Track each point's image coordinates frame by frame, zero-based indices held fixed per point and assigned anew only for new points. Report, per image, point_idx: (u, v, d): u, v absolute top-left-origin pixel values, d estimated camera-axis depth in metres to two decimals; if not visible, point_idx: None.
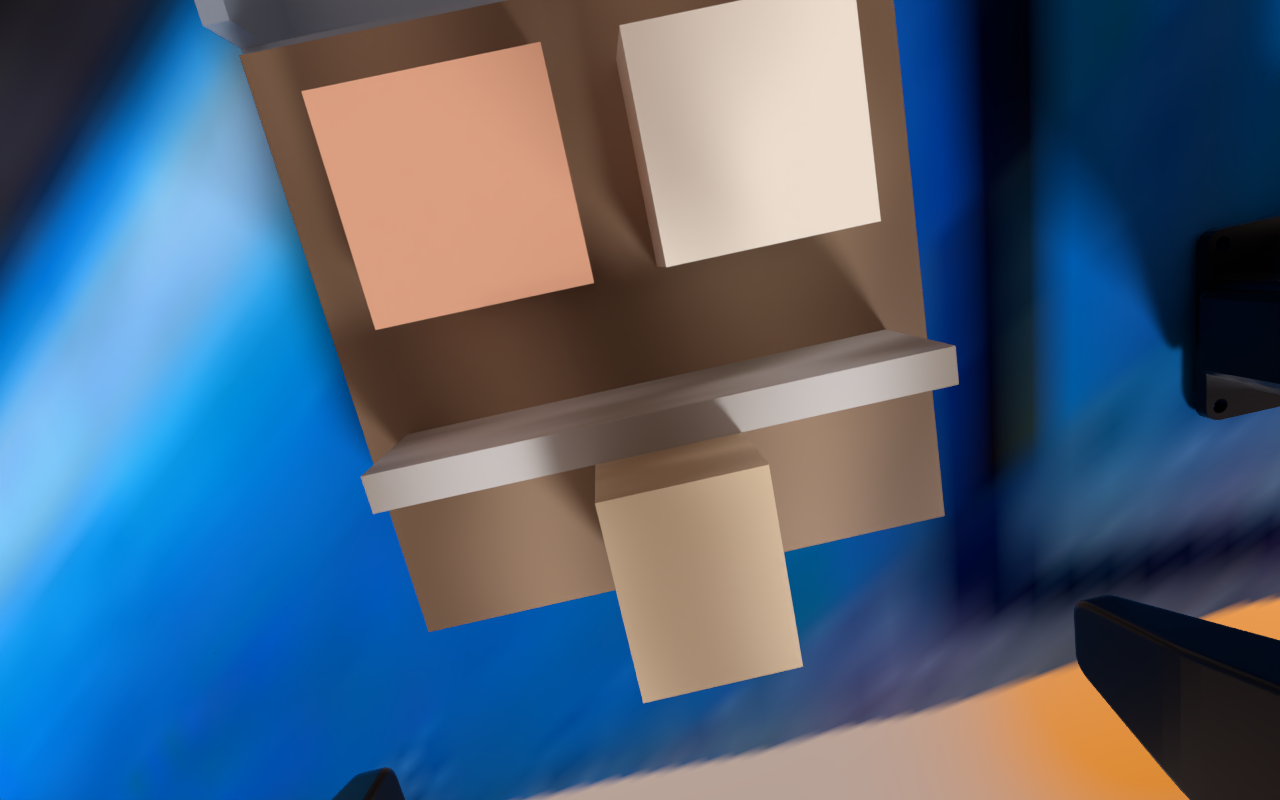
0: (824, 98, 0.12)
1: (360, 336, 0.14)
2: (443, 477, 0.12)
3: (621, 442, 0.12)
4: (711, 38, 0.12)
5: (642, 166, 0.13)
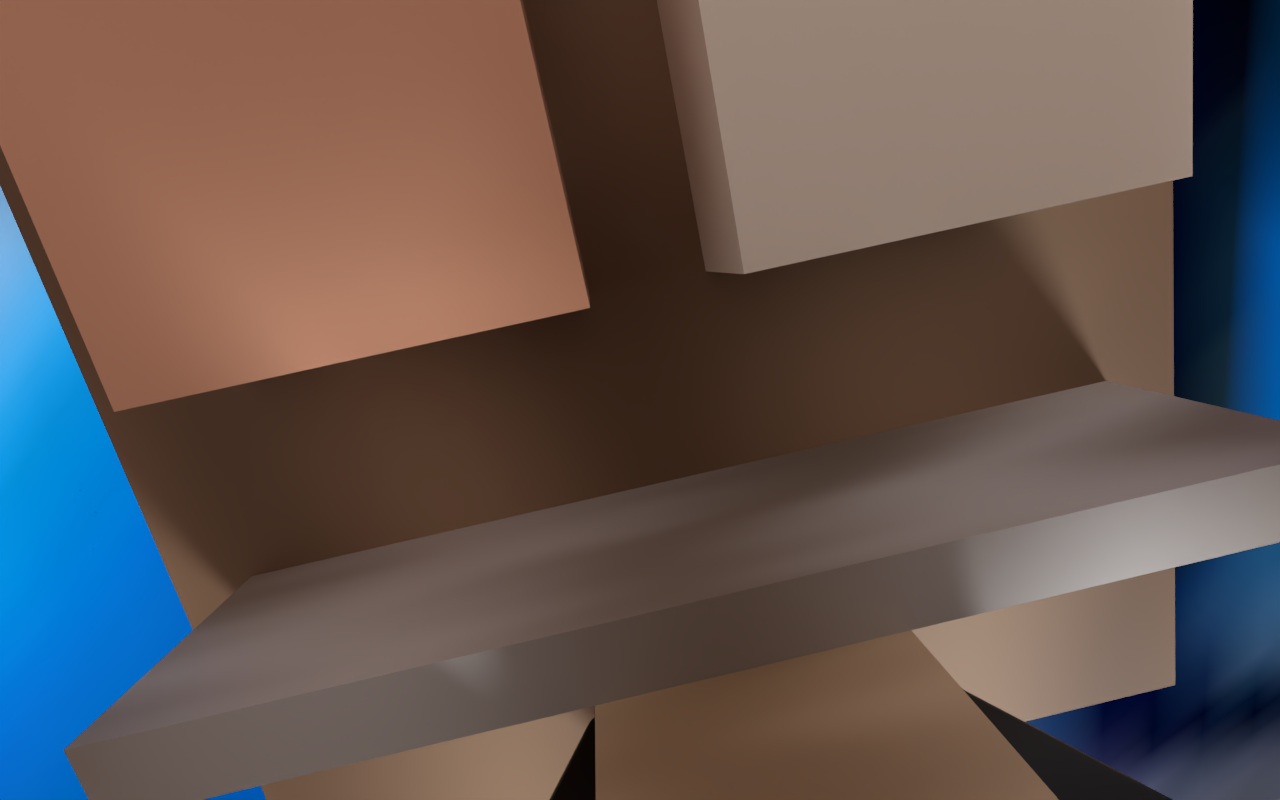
0: None
1: None
2: (256, 744, 0.05)
3: (652, 659, 0.06)
4: None
5: (689, 64, 0.06)
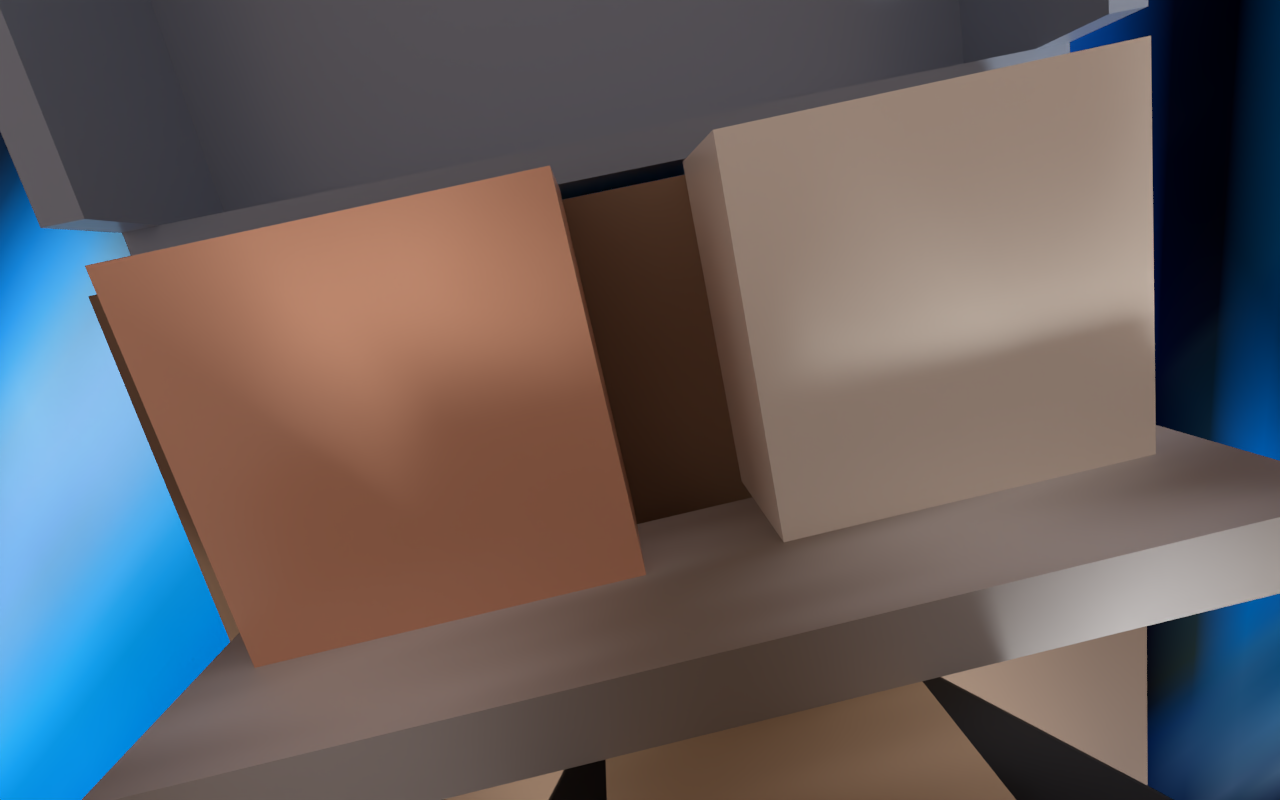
0: (1078, 253, 0.07)
1: None
2: None
3: (663, 713, 0.05)
4: (883, 151, 0.06)
5: (736, 356, 0.07)
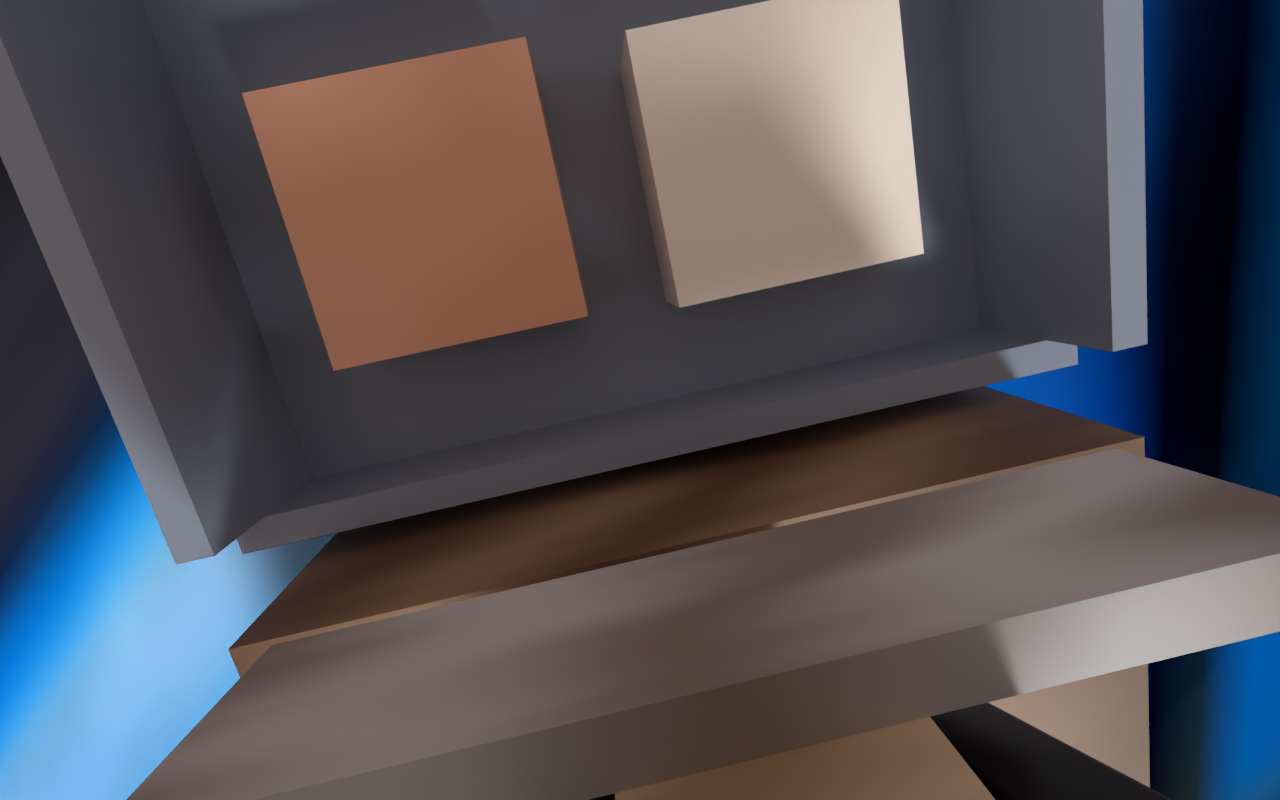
0: None
1: None
2: None
3: (672, 746, 0.06)
4: None
5: (645, 175, 0.11)
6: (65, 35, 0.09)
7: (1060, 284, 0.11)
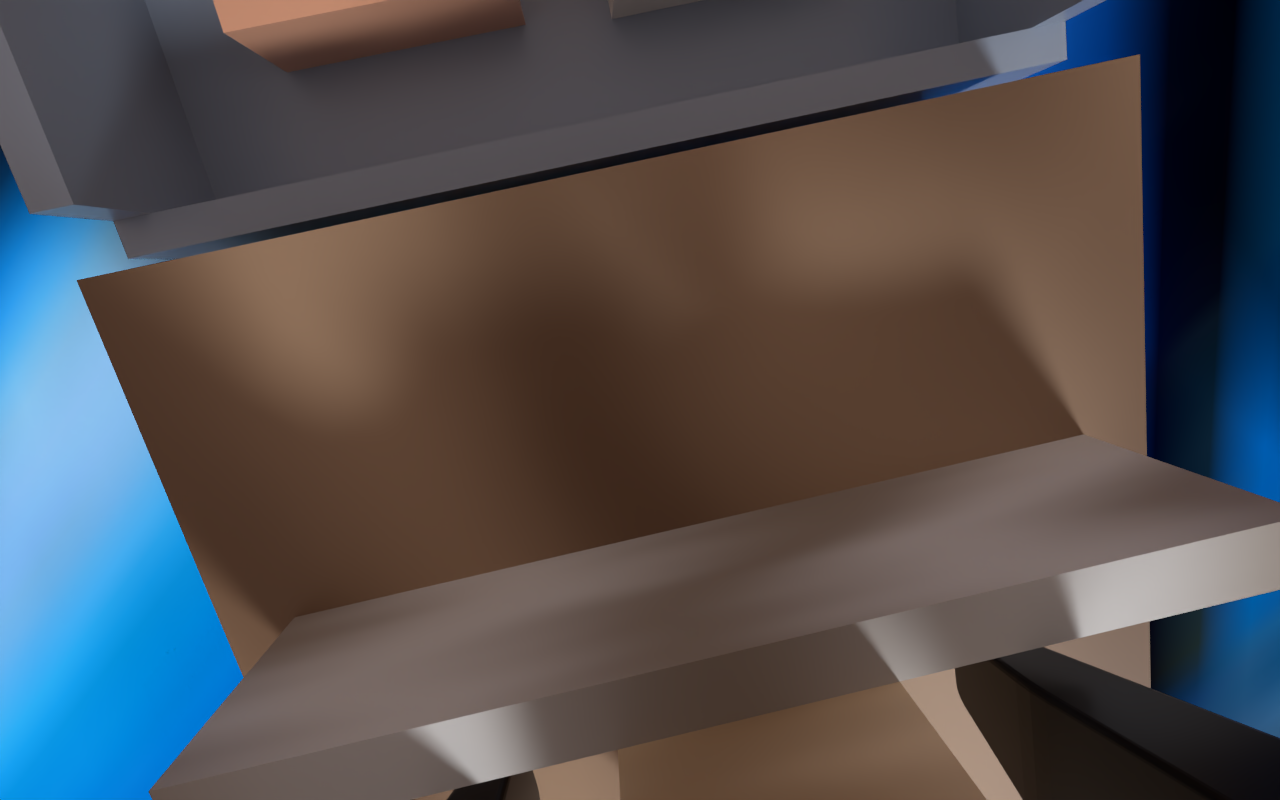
0: None
1: None
2: (317, 784, 0.06)
3: (669, 708, 0.06)
4: None
5: None
6: None
7: None
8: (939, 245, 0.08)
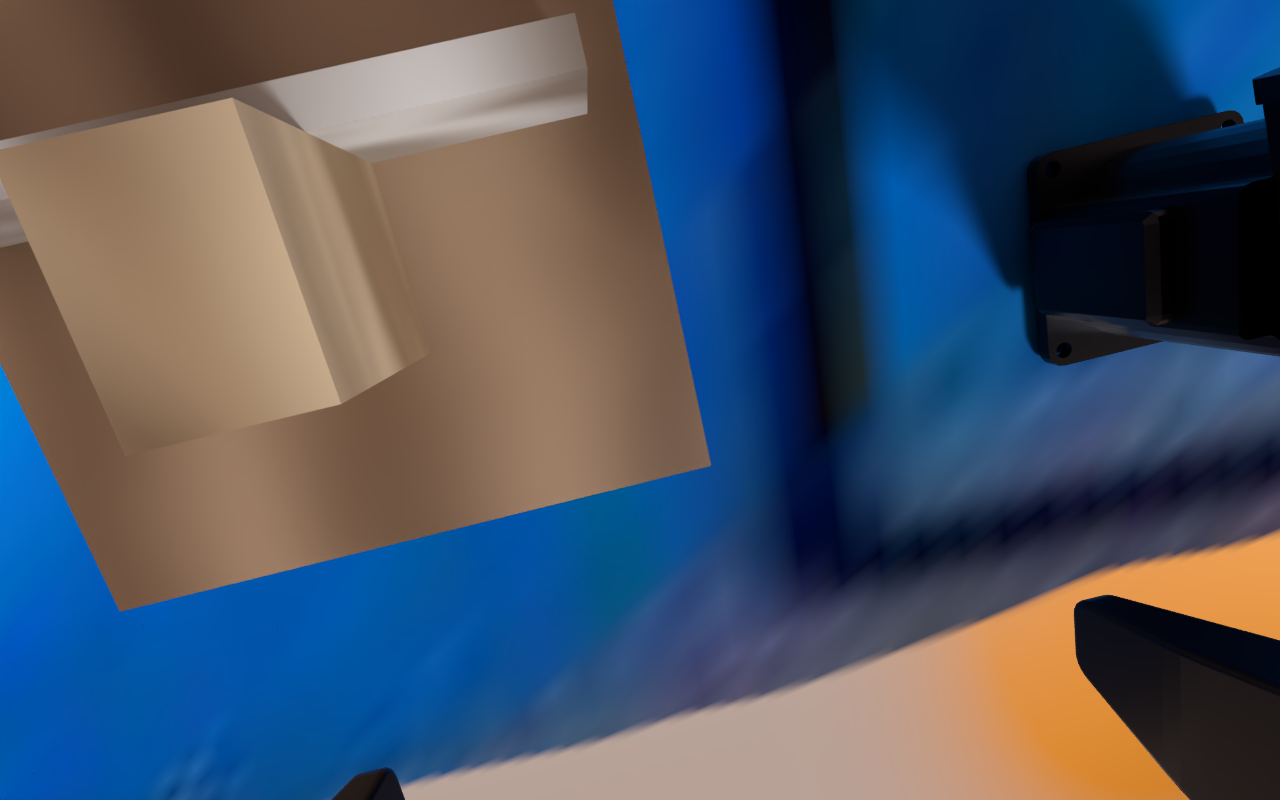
0: None
1: None
2: None
3: None
4: None
5: None
6: None
7: None
8: None
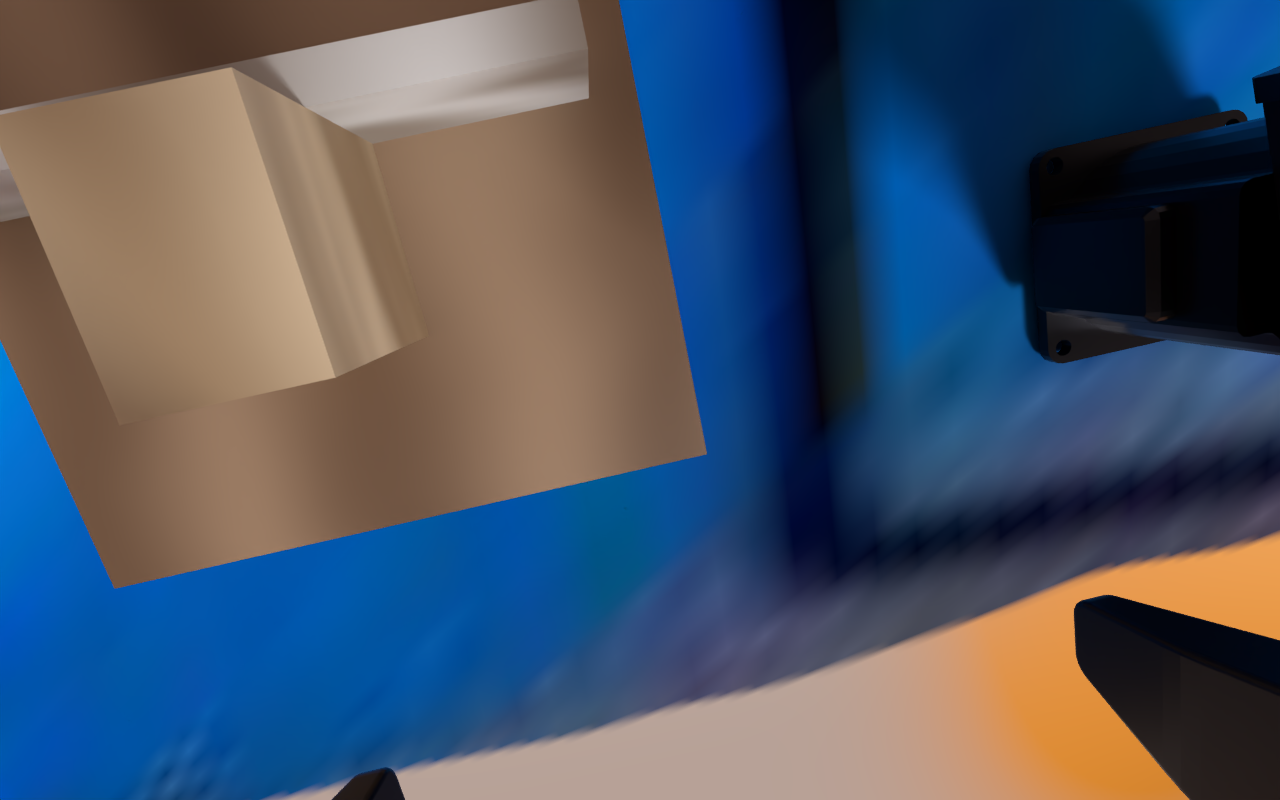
0: None
1: None
2: None
3: None
4: None
5: None
6: None
7: None
8: None
